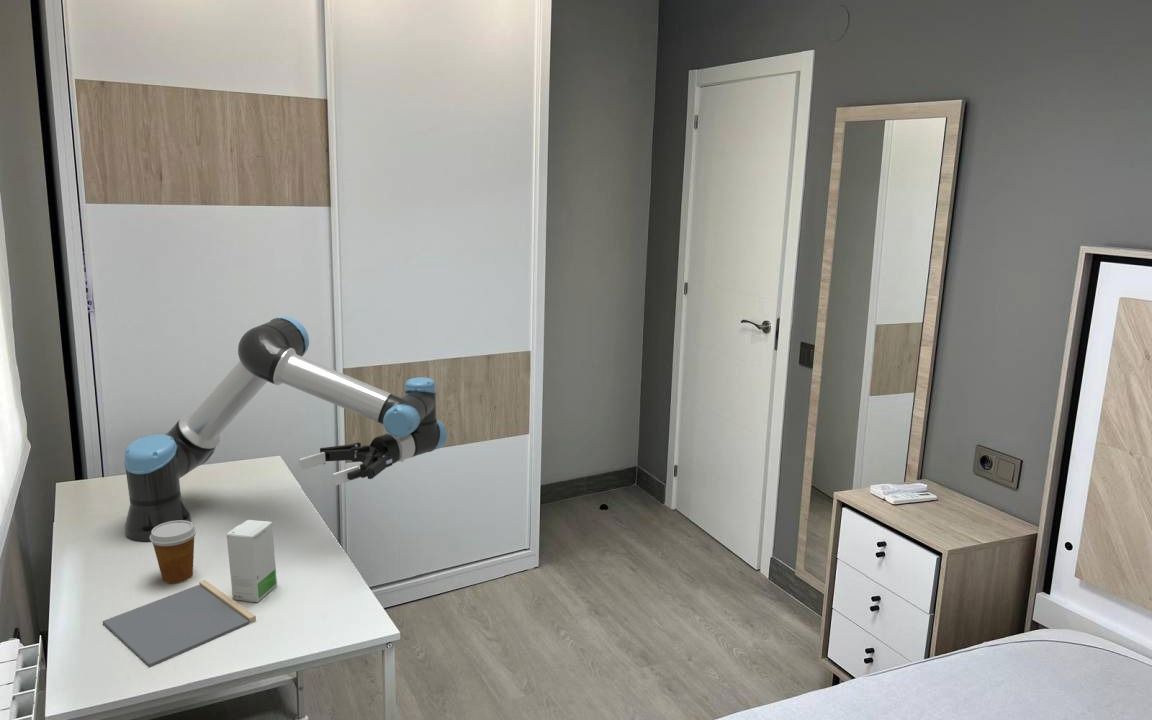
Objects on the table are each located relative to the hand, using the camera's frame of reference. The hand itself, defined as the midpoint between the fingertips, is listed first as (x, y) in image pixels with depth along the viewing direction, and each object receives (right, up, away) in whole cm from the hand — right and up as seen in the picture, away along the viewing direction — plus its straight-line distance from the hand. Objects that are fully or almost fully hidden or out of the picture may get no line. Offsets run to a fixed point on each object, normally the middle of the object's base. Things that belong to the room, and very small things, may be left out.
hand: (316, 472), depth 191 cm
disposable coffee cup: (-31, -24, 0) cm, 40 cm away
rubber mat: (-23, -29, -19) cm, 41 cm away
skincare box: (-12, -26, -6) cm, 29 cm away
